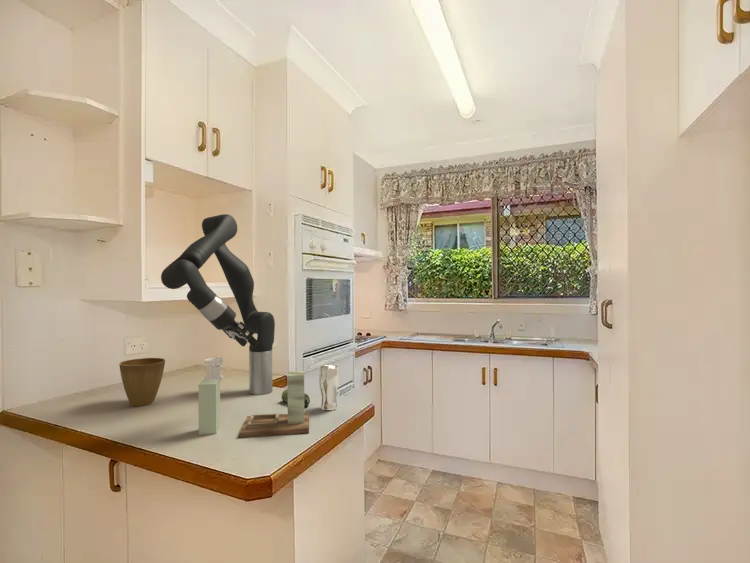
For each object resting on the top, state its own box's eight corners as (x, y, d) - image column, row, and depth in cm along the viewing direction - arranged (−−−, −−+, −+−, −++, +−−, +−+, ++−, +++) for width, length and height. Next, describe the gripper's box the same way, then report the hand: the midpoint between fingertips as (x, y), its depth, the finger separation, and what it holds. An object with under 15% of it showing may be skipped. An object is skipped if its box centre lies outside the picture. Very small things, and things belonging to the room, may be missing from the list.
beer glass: (320, 412, 134) (320, 369, 134) (318, 406, 141) (318, 365, 141) (340, 410, 136) (340, 368, 136) (337, 404, 143) (336, 364, 143)
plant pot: (127, 412, 135) (127, 367, 135) (113, 404, 144) (113, 361, 144) (171, 402, 146) (171, 360, 146) (156, 395, 156) (156, 355, 156)
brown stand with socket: (247, 420, 126) (247, 370, 126) (309, 417, 129) (309, 368, 129) (239, 437, 112) (239, 381, 112) (308, 433, 116) (308, 378, 116)
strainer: (218, 395, 155) (218, 358, 155) (201, 395, 155) (201, 358, 155) (225, 390, 162) (225, 354, 162) (209, 390, 162) (209, 354, 162)
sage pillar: (203, 428, 120) (203, 380, 120) (220, 427, 121) (220, 379, 121) (198, 434, 115) (198, 384, 115) (216, 433, 116) (216, 383, 116)
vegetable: (278, 402, 146) (278, 389, 146) (290, 399, 150) (289, 386, 150) (302, 410, 137) (302, 396, 137) (313, 406, 141) (313, 393, 141)
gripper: (235, 302, 121) (268, 337, 128) (216, 304, 131) (248, 336, 138) (218, 320, 117) (253, 355, 124) (200, 320, 127) (234, 352, 134)
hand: (250, 345), depth 131 cm, fingers open, 8 cm apart
